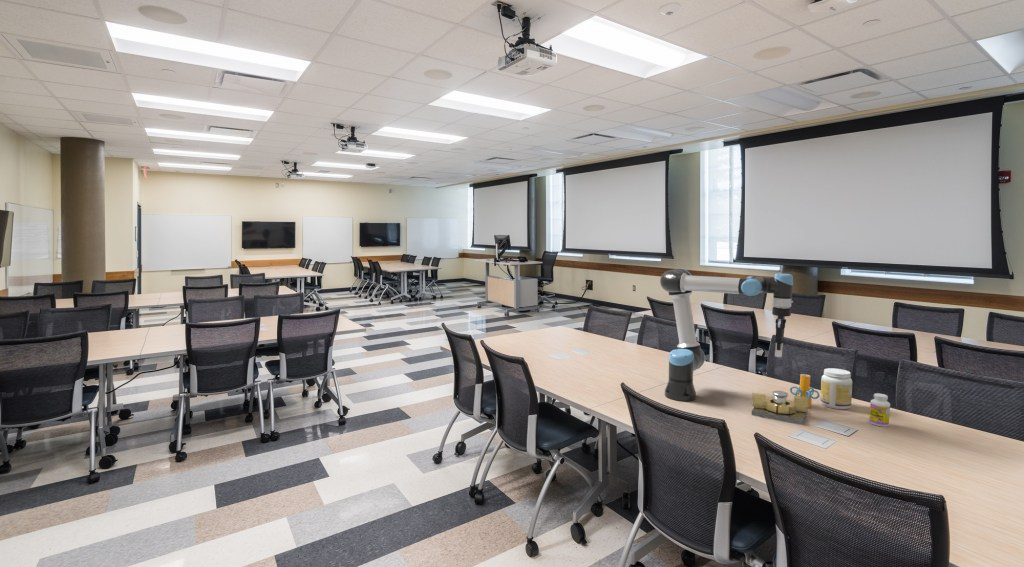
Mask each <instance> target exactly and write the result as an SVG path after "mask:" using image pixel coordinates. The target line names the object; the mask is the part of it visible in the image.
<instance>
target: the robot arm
mask: <svg viewBox="0 0 1024 567" xmlns="http://www.w3.org/2000/svg"><path fill="white" fill-rule="evenodd" d="M659 284H660V286H661V288H662V289H663V290H664V291H665V292H668V296H669V298H671V299H672V303H673V305H672V306H673V310H674V318H675V324H676V330H677V336H678V344H677V345H676V348H677V349H673V350H670V352H669V356H668V381H667V384H666V387H665V388H664V396H665V398H668V399H670V400H674V401H679V402H680V401H681V402H691V401H695V400H696V399H697V392H696V391H697V390H696V388H695V385H694V372H695V371H696V370H699V369H700V368H701V367H702V366H703V365H704V363H705V360H706V355H705V352H704V351H703V350H702V348H701V344H700V343H699V342H698V341H697V337H696V336H697V335H696V330H695V324H694V316H693V310H692V305H691V304H692V303H691V297H690V296H691V294H692V293H693V292H704V293H705V292H706V293H719V294H730V295H731V294H733V295H736V294H737V295H743V296H744V295H746V296H749V297H754V296H757V295H759V294H763V293H764V294H772V295H773V296H772V306H773V307H772V311H771V314H772V315H773V316H777V318H776V319H775V340H774V341H773V343H774V344H775V349H774V357H777V358H782V357H783V347H784V345H783V344H785V342H786V341H785V340H784V339H785V338H784V334H785V328H786V323H787V319H785V318H786V317H790V316H792V308H791V307H792V303H794V301H793V300H792V299H793V289H794V276H793V274H790V273H775V274H774V277H769V276H768V277H766V276H756V275H755V276H747V277H746V278H744V277H743V278H742V277H729V276H728V277H726V276H725V277H723V276H707V275H706V276H705V275H692V274H691V273H690V271H689V270H687V269H684V268H675V269H670V270H666V271H664V272H663V274H661V276H660V280H659Z"/></svg>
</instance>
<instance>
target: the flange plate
mask: <svg viewBox="0 0 1024 567" xmlns="http://www.w3.org/2000/svg"><path fill="white" fill-rule="evenodd" d="M771 394H772V395H773V398H774V404H777V405H780V403H785V404H786V399H787V397H789V393H788V392H786V391H781V390H773V391H772V393H771ZM807 413H808V412H804V411H796V412H795V413H792V414H783V413H778V412H776V413H775V412H772V411H769V410H767V409H765V408H755V407H752V410H751V413H750V414H751V416H753V417H754V416H755V417H760V418H764V419H771V420H775V421H780V422H784V423H785V422H786V423H790V424H794V425H795V424H796V425H801V426H804V423H805V421H806V417H807V415H808V414H807Z"/></svg>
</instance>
